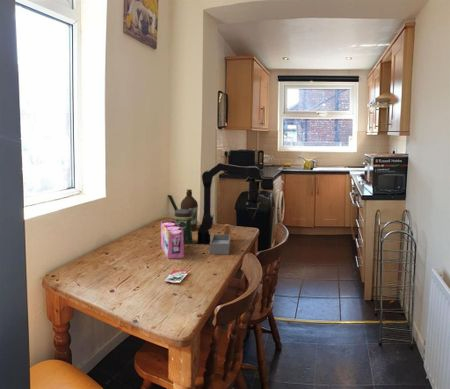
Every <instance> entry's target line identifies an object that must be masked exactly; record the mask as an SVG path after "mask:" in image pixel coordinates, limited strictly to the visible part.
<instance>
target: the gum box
mask: <svg viewBox="0 0 450 389" xmlns="http://www.w3.org/2000/svg"><path fill="white" fill-rule="evenodd" d="M160 239H161V240H160V241H161V244H160V245H161V246H160V247H161V249H162V250H163V252H164V254H165V256H166V257H167V259H168V260H169V259H184V253H185V250H184V244H183V229H182V228H181V227H180V226H179V225H178V224H177V223H176V222H175V220H172V221H171V220H169V221H160Z"/></svg>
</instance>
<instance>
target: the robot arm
mask: <svg viewBox="0 0 450 389" xmlns="http://www.w3.org/2000/svg"><path fill="white" fill-rule="evenodd" d="M221 171H222V172H228V173H234V174H240V175H241V174H242V175H244V176H247V178H246V179H244V180H245V182H246V183H247V182H248V191H247V194H248V199H247V202H246V203H245V209H246V211H247V213H248V216H249V219H250V220H251V221H253V220H254V217H255V216H256V213H257V210H258V209H259V206H260V204H261V203H262V204H264V205H268V203H269V200H270V197H268V196H269V195H268V194H267V193H265V194H261V191H260V189H262V191H274V177H263V176H262V175H261V171H260V168H259V167H257V166H253V165H252V166H251V165H250V166H241V165H234V164H228V163H223V162H219V163H218V164H216V165H215V166H213V167H212V168H211V169H209V170H207V169H206V170H205V171H204V172H203V173H202V174H201V179H202V180H201V181H202V186H203V214H202V221H201V224H200V225H199V226H198V227H197V242H196V243H197V244H205V245H208V244H209V245H210V241H211V233H210V230H211V229H212V227H213V226H214V225H215V224H214V223H215V221H214V219H215V215H212V209H211V208H212V185H213V179H214V177H215V176H216V175H217V174H218V173H220V172H221ZM256 179H257V180H256Z"/></svg>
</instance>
